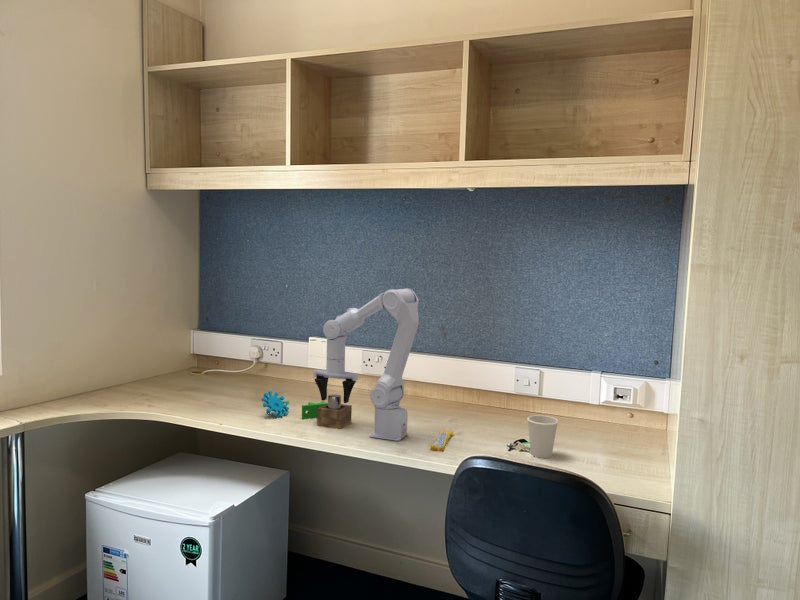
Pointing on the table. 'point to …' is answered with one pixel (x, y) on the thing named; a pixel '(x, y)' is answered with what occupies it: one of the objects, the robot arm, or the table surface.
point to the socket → (334, 416)
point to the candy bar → (442, 440)
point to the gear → (275, 404)
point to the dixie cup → (542, 435)
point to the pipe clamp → (311, 410)
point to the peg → (334, 402)
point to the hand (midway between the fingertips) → (335, 401)
